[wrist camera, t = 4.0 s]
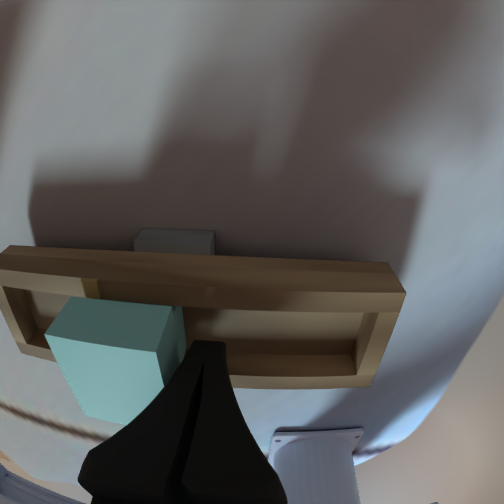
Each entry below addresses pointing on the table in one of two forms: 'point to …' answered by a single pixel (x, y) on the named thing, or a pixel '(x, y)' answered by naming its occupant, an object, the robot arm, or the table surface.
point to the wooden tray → (220, 304)
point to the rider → (116, 353)
